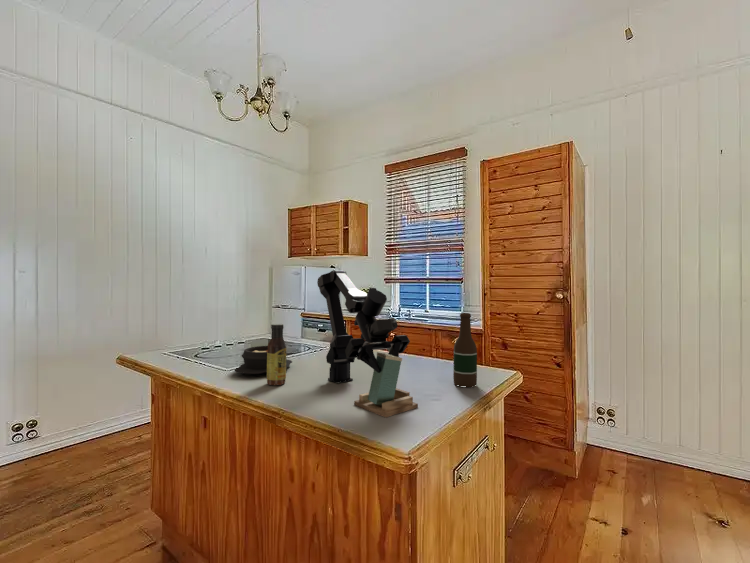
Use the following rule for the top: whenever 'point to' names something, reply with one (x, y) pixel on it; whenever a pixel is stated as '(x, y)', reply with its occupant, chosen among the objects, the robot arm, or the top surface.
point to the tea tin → (384, 379)
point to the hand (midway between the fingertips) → (389, 370)
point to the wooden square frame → (388, 404)
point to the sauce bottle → (276, 357)
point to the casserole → (256, 361)
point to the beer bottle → (465, 355)
